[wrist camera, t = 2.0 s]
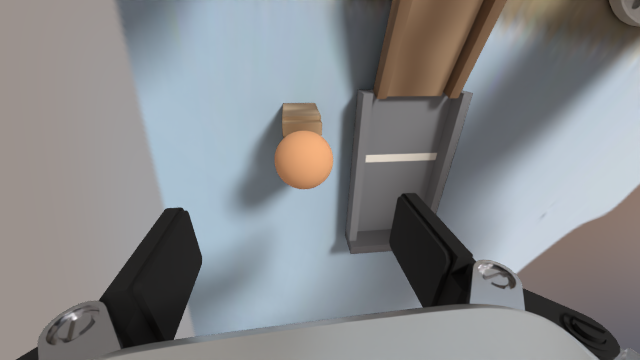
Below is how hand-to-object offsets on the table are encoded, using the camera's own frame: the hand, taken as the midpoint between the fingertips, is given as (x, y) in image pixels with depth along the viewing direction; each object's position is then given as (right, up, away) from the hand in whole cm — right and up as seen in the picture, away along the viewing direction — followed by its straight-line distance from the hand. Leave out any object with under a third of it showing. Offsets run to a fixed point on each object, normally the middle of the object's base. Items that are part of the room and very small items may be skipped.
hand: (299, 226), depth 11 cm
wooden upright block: (-1, +7, +12) cm, 14 cm away
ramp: (+9, +15, +8) cm, 19 cm away
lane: (+9, +3, +15) cm, 18 cm away
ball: (0, +3, +6) cm, 7 cm away
